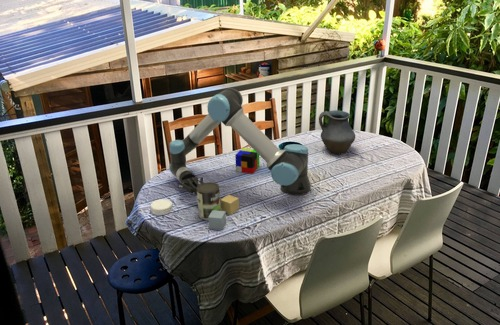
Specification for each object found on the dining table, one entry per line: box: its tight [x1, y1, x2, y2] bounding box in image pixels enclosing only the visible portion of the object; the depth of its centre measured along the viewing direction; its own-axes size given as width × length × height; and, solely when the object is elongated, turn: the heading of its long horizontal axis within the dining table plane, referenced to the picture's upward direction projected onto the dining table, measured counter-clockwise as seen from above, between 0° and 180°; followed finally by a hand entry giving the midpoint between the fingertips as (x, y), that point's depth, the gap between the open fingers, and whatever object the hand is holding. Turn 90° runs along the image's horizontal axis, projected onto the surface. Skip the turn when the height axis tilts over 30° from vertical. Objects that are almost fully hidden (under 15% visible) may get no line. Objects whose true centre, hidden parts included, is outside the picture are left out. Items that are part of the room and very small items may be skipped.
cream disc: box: [150, 198, 173, 216], centre depth 211 cm, size 10×10×4 cm
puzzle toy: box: [234, 147, 260, 175], centre depth 248 cm, size 10×10×10 cm
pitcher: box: [318, 109, 356, 155], centre depth 264 cm, size 21×22×25 cm
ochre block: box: [220, 194, 240, 215], centre depth 209 cm, size 6×6×6 cm
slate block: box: [207, 210, 227, 231], centre depth 197 cm, size 6×6×6 cm
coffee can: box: [196, 181, 221, 221], centre depth 204 cm, size 10×10×14 cm
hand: (204, 196), depth 208 cm, fingers closed
